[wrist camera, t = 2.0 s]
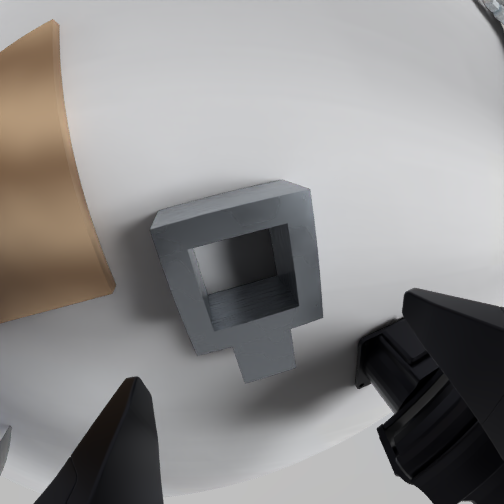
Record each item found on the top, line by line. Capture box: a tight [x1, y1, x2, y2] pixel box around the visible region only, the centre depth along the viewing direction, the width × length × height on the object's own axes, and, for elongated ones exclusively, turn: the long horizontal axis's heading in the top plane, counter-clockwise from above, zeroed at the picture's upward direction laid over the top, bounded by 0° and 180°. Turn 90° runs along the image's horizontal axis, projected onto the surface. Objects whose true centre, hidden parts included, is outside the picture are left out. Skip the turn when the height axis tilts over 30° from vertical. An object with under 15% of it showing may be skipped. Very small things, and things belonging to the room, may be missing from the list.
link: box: [150, 180, 323, 384], centre depth 14 cm, size 10×7×4 cm
